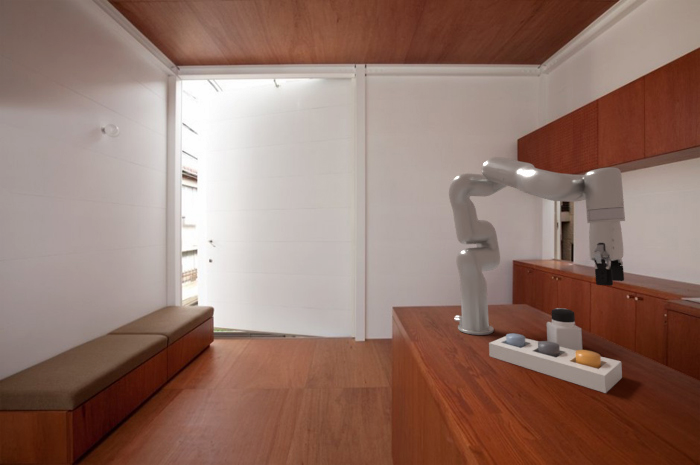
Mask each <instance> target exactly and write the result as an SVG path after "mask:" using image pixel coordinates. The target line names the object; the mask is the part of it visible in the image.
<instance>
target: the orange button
mask: <svg viewBox="0 0 700 465" xmlns="http://www.w3.org/2000/svg"><path fill="white" fill-rule="evenodd" d="M575 353H576V363H578V364H582V365H586V366H589V367H593V368H597V369H599V368H600V367H601V357H602V356H601V354H600V353H598V352H595V351H592V350H588V349H583V350H577V351H576V352H575Z"/></svg>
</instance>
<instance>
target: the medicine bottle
mask: <svg viewBox="0 0 700 465" xmlns="http://www.w3.org/2000/svg"><path fill="white" fill-rule="evenodd" d="M575 315H576V314H575V312H574V311H573V310H571V309H570V308H569V309H567V308H560V307H559V308H558V307H557V308H554V309H552V310H551V321H547V322H546V337H547V338H546V339H547V340H546V341H550V342H554V343H557V344H559V347H563V348H568V349H572V350H576V351H577V350H584V349H583V333H582V332H583V331H582V327H579V326H577V325H576V319H575V317H576V316H575Z"/></svg>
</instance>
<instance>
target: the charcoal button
mask: <svg viewBox="0 0 700 465" xmlns="http://www.w3.org/2000/svg"><path fill="white" fill-rule="evenodd" d="M538 353H541V354H545V355H549V356H552V357H558V356H560V349H559V344H557V343H554V342H550V341H547V340H541V341H539V342H538Z"/></svg>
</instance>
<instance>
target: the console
mask: <svg viewBox="0 0 700 465" xmlns="http://www.w3.org/2000/svg"><path fill="white" fill-rule="evenodd" d="M538 342H540V341H538V340H534V339H530V338H526V337H525V346H524V347H522V348H519V347H516V346H512V345H508V344H507V343H506V335H505V336H503V337H500V338H498V339H495V340H493V341H490V342H488V351H489V352H488V353H489V357H490V358H493V359H494V358H495V359H497V360H500V361H503V362H505V363H506V362H507V363H509V364H513V365H517V366H519V367H522V368H525V369H529V370H532V371H534V372H538V373H541V374H544V375H547V376H549V377H552V378H553V377H554V378H557V379H559V380H562V381H566V382H569V383H573V384H576V385H579V386H581V387H585V388H587V389H591V390H594V391H598V392H601V393H604V394H607V393H608V392H609V391H610V390H611V389H612V388H613V387H614V386H615V385H616V384H618V382H619V381H620V380H621V379H623V371H622V366H623V365H622V361H620V360H616V359H612V358H608V357H603V356H601V367H600V368H599V369H597V368H593V367H589V366H586V365H582V364H578V363H576V353H575V352H576V350H572V349H568V348H563V347H559V349H560V356H558V357H552V356H549V355H545V354H541V353H538Z"/></svg>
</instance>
